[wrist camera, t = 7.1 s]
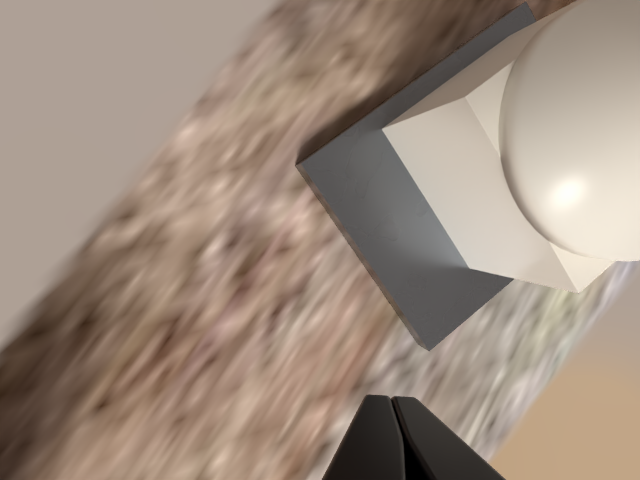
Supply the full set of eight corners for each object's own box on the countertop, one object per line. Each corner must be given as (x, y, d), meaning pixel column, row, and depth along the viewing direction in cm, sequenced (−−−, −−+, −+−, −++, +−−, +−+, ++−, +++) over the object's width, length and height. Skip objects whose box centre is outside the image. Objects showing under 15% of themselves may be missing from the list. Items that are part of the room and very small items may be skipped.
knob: (467, 278, 21) (608, 315, 14) (371, 126, 19) (476, 82, 12) (590, 175, 22) (776, 162, 15) (510, 25, 20) (677, -67, 13)
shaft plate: (418, 344, 21) (515, 404, 15) (295, 165, 19) (347, 146, 13) (604, 187, 23) (759, 181, 17) (510, 10, 21) (647, -72, 15)
